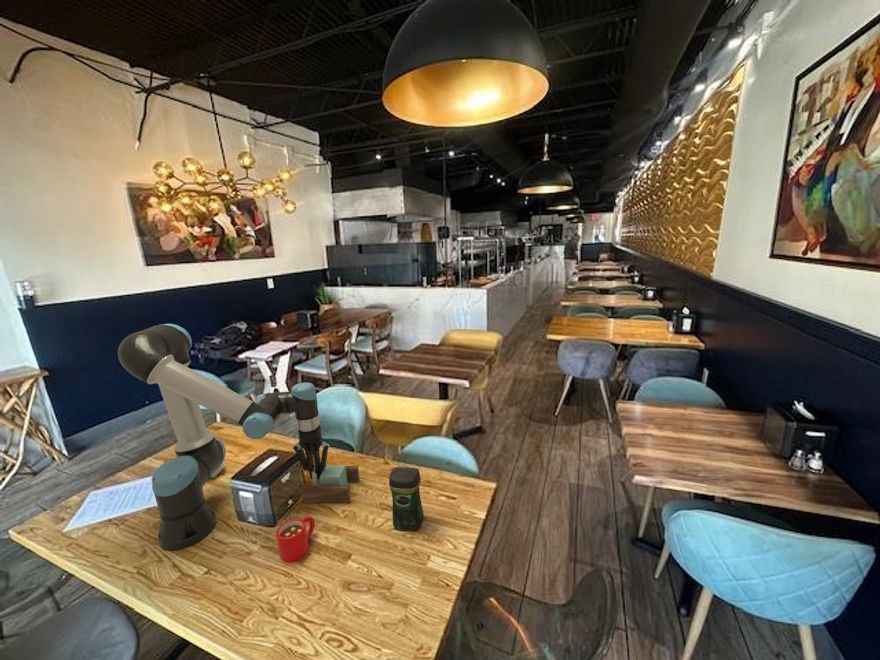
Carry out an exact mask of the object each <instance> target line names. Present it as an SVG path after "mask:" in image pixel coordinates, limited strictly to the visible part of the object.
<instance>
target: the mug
mask: <svg viewBox="0 0 880 660" xmlns="http://www.w3.org/2000/svg"><path fill="white" fill-rule="evenodd" d="M307 522H309V527H308V531H307V528H306V527H307V526H306V523H307ZM314 530H315V519H314V518H313V517H312V516H310V515H309V516H305V517H304V518H292V519H289V520H286V521H285V522H283V523H282V524H280V525H279V526H278V528H277V529H276V532H275V535H276V540H277V546H278V552H279V557H280V560H281V561H282V562H284V563H290V564H291V563H294V562H298V561H299V560H301V559H302V558H304V557H305V556H306V554H308V552H309V548H310V546H309V541H308V540H309V539H310V537H311V536H312V535H313V532H314Z"/></svg>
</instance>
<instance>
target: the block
mask: <svg viewBox="0 0 880 660" xmlns="http://www.w3.org/2000/svg"><path fill="white" fill-rule="evenodd" d="M346 466H347V465H343V464H342V465H340V464H339V465H337V464H336V465H335V464H334V465H333V464H332V465H330V464H329V465H327V464H326V468H325V469H324V471H323V472H322V474H321V476H320V485H349V482H347V474H346Z"/></svg>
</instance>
